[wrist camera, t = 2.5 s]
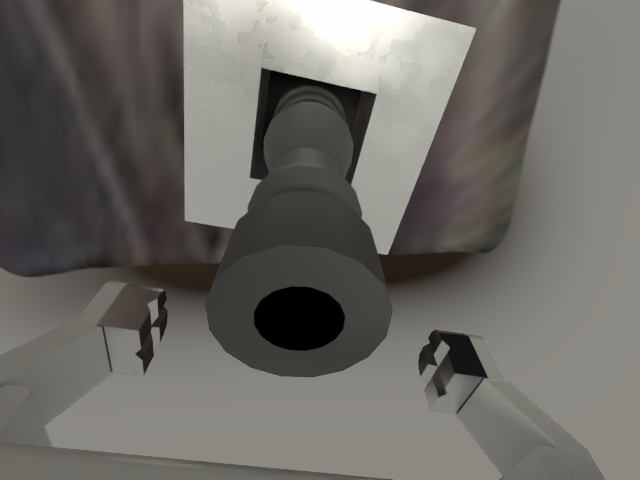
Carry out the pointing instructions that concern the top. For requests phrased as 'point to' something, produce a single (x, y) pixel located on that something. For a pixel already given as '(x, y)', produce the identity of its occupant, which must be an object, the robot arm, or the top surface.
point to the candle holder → (302, 251)
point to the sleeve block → (322, 65)
